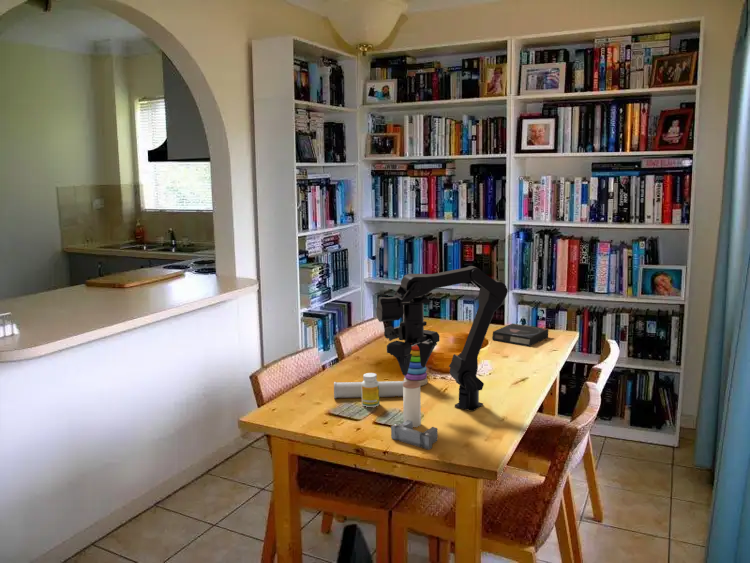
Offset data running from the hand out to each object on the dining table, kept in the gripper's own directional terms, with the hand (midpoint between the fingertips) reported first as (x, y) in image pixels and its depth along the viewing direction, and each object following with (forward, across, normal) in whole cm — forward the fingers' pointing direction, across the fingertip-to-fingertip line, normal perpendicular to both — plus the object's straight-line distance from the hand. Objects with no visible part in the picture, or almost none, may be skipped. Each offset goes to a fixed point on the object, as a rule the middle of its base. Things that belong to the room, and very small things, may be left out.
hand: (414, 371), depth 189 cm
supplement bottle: (+13, +2, -15) cm, 20 cm away
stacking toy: (+13, -22, -15) cm, 30 cm away
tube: (+14, -5, -19) cm, 24 cm away
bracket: (+13, +15, +11) cm, 23 cm away
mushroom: (+13, +7, +4) cm, 15 cm away
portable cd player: (+14, -91, -11) cm, 93 cm away
